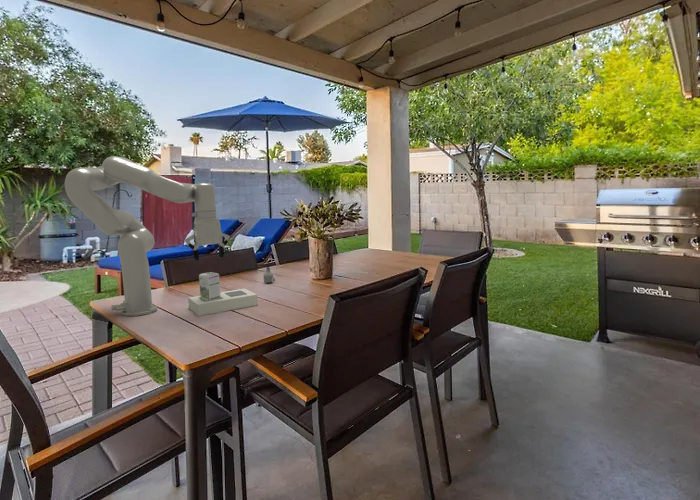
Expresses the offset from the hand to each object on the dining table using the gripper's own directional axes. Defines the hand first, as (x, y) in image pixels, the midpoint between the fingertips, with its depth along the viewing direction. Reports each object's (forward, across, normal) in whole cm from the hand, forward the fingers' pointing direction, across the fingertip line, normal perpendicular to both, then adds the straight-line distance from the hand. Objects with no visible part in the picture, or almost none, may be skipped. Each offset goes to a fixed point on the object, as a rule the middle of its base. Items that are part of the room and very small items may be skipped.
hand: (209, 258), depth 164 cm
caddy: (+21, +4, 0) cm, 21 cm away
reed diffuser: (+21, +37, +29) cm, 52 cm away
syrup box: (+21, -1, 0) cm, 21 cm away
